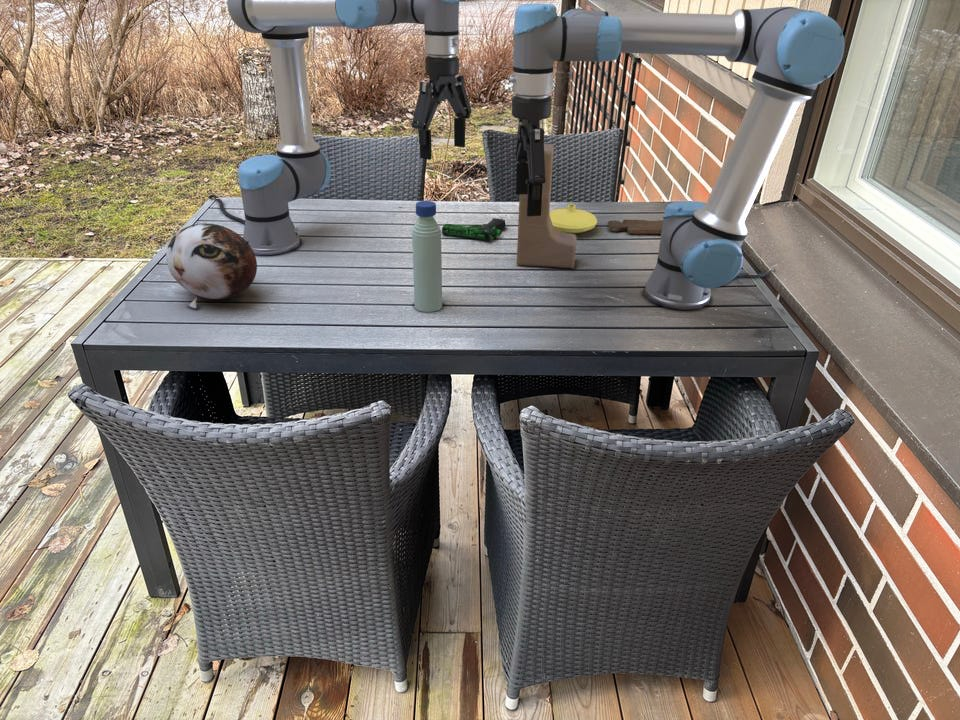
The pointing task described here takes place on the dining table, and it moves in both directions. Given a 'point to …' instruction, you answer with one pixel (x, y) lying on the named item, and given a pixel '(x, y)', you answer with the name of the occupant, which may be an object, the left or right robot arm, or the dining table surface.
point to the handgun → (476, 230)
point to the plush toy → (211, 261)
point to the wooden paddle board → (637, 226)
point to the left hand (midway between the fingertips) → (443, 152)
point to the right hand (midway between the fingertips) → (527, 204)
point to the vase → (572, 220)
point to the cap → (426, 208)
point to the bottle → (427, 264)
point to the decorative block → (543, 230)
